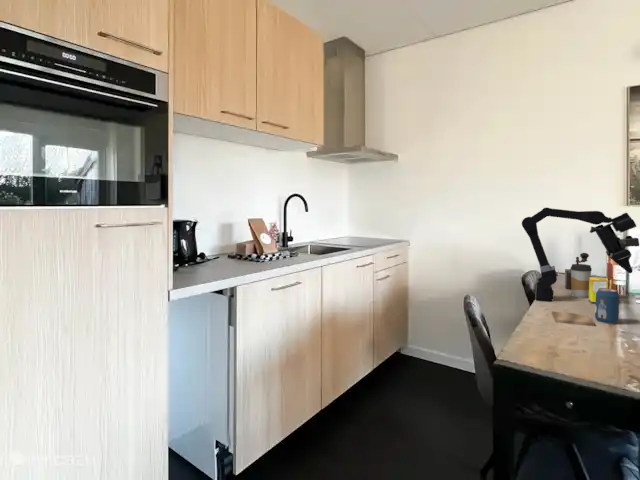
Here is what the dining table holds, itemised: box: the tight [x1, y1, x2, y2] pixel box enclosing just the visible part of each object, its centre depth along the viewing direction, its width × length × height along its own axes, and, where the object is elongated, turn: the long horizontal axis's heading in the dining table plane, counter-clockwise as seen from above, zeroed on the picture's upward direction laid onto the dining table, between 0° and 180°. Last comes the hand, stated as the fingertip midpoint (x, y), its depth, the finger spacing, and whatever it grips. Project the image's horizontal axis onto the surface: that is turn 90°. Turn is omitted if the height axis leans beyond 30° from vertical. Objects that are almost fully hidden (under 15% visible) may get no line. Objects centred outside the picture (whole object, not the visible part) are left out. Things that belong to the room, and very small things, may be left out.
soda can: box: [594, 287, 620, 325], centre depth 139 cm, size 7×7×12 cm
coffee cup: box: [570, 263, 592, 299], centre depth 178 cm, size 8×8×15 cm
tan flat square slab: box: [551, 311, 595, 327], centre depth 142 cm, size 12×12×1 cm
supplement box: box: [588, 277, 609, 305], centre depth 166 cm, size 6×6×11 cm
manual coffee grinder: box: [564, 252, 590, 291], centre depth 197 cm, size 16×11×18 cm
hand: (628, 271), depth 156 cm, fingers open, 9 cm apart
